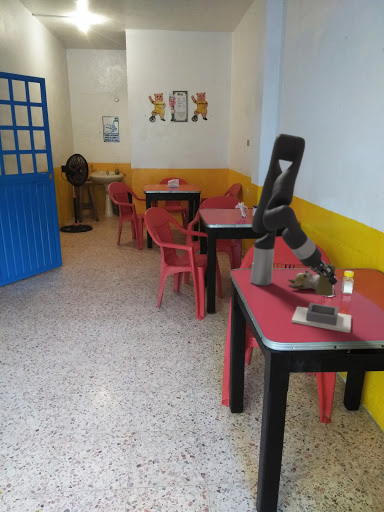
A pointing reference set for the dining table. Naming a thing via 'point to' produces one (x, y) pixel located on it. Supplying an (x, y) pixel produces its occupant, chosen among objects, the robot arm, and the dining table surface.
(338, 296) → the dining table surface
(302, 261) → the robot arm
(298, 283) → the ceramic sculpture
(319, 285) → the cork
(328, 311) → the board
